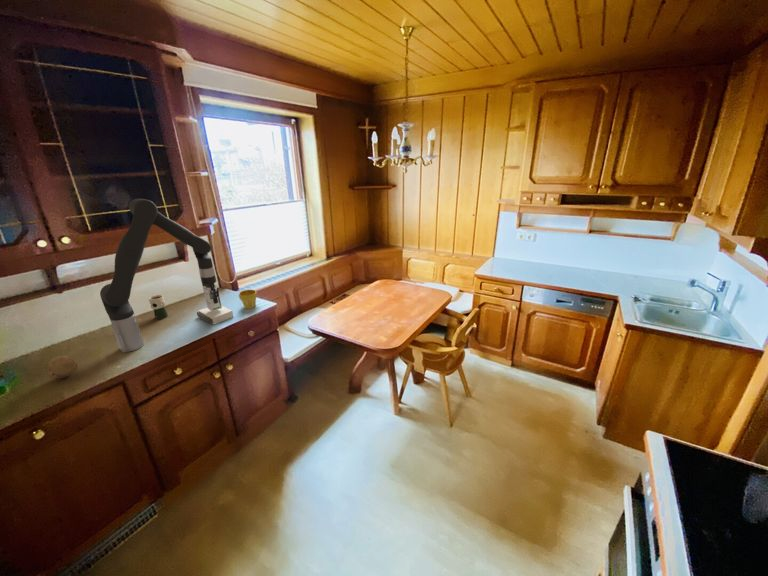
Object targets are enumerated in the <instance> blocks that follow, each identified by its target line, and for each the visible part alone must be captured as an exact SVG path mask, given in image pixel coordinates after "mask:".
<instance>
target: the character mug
mask: <svg viewBox="0 0 768 576" xmlns="http://www.w3.org/2000/svg"><path fill="white" fill-rule="evenodd" d="M148 301H149V304H150V309H152V310H153V315H154V317H155V319H157V320H158V319H164V318H165V317H167V316H168V313H167V310H166V308H165V307H166V301H165V298H164V295H163V294H155V295H152V296H150V297H148Z"/></svg>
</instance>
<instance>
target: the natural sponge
mask: <svg viewBox="0 0 768 576" xmlns="http://www.w3.org/2000/svg"><path fill="white" fill-rule="evenodd" d="M78 368H79V367H78V362H76V360H75V359H74V358H72V357H71V356H68V355H59V356H55V357H53V358H51V359H50V361H48V364H47V369H46V370H47V376H48V377H49V378H50V379H64V378H67V377H69V376H70V375H71V374H73V373H74V372H76V370H77V369H78Z"/></svg>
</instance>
